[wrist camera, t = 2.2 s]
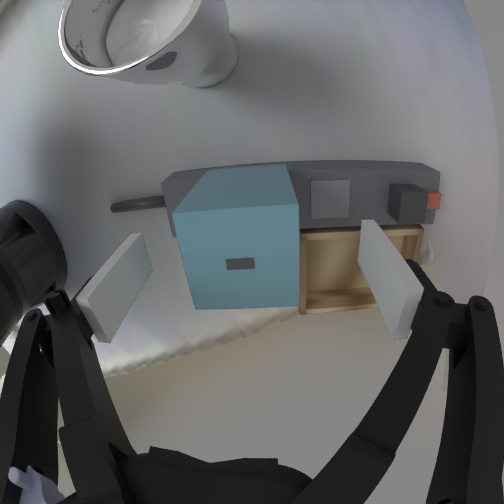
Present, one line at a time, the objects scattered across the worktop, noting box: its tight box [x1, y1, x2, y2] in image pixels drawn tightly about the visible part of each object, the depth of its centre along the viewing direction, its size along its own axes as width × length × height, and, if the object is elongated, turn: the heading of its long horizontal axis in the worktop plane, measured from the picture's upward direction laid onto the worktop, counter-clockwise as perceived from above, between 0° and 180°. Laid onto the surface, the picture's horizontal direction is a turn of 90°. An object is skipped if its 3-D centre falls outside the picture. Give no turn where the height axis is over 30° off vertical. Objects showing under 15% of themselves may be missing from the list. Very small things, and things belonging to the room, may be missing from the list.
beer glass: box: [58, 0, 238, 87], centre depth 12 cm, size 7×7×15 cm
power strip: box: [110, 160, 441, 237], centre depth 22 cm, size 32×5×6 cm, turn 95°
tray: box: [299, 224, 424, 314], centre depth 26 cm, size 12×9×4 cm
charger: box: [172, 164, 299, 309], centre depth 19 cm, size 6×6×12 cm
